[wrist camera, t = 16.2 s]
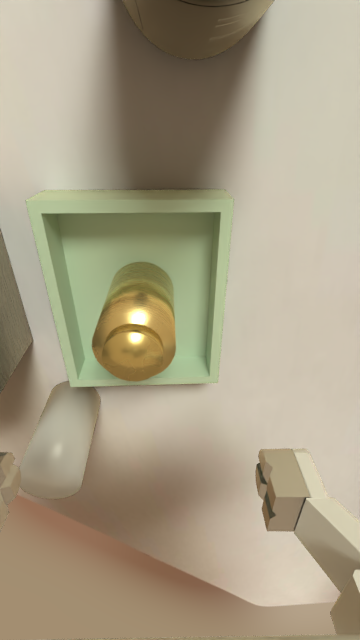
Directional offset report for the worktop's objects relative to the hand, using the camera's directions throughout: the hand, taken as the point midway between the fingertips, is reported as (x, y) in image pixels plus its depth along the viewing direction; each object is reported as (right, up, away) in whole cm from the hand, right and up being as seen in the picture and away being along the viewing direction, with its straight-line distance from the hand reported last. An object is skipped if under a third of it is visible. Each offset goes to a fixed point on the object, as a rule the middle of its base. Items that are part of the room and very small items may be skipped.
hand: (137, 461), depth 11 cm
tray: (-1, +7, +10) cm, 12 cm away
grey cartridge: (-7, -2, +15) cm, 17 cm away
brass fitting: (-1, +7, +10) cm, 12 cm away
